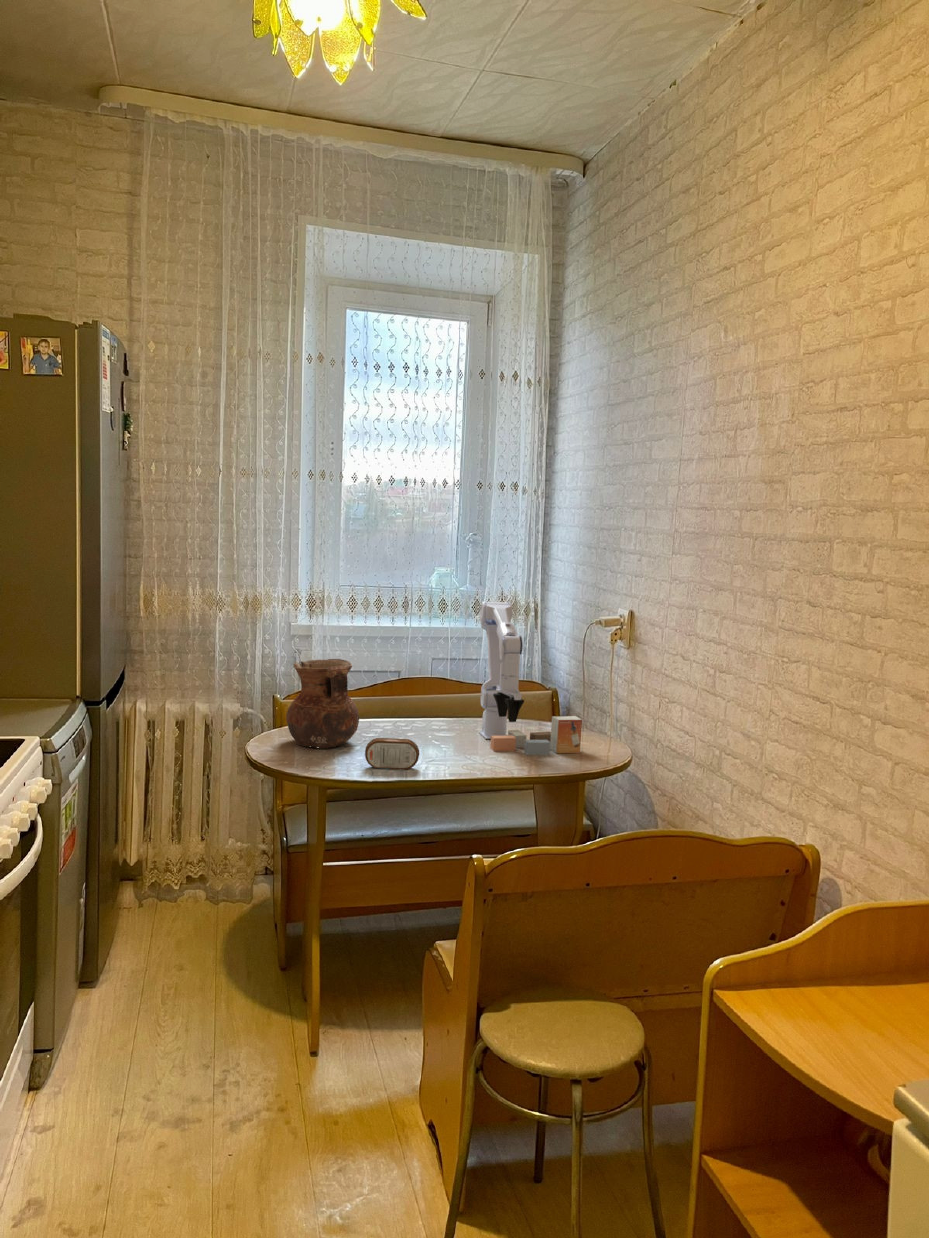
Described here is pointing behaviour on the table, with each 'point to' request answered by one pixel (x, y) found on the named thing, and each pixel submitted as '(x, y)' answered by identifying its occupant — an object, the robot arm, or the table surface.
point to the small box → (566, 734)
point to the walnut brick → (540, 736)
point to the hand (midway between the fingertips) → (507, 719)
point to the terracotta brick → (503, 743)
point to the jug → (323, 705)
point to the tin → (391, 753)
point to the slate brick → (537, 747)
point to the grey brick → (518, 737)
